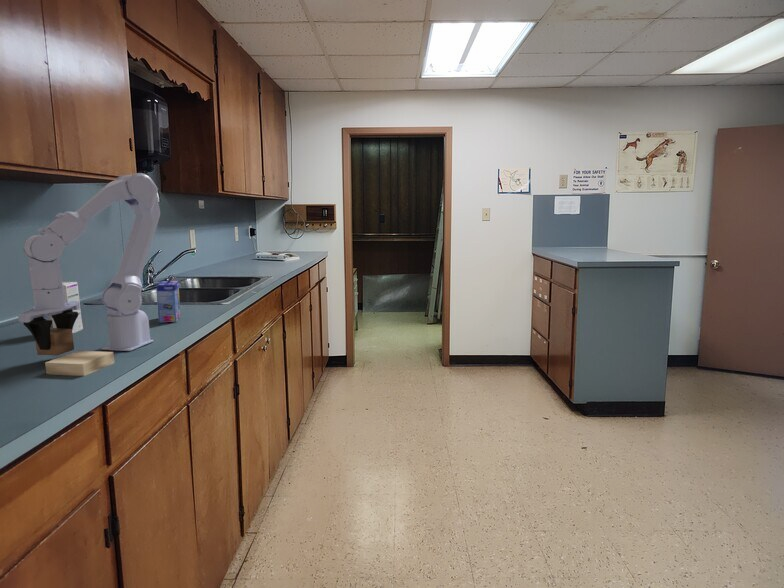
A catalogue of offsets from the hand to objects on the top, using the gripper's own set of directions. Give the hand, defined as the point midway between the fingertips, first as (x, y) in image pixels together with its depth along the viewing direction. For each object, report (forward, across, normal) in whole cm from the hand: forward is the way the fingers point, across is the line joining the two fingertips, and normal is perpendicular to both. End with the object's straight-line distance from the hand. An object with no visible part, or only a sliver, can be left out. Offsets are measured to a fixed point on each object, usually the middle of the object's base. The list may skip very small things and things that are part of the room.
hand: (55, 345), depth 111 cm
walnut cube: (+2, 0, 0) cm, 2 cm away
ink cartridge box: (+4, -44, 0) cm, 44 cm away
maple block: (+4, +4, +10) cm, 12 cm away
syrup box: (+4, -25, -20) cm, 32 cm away
